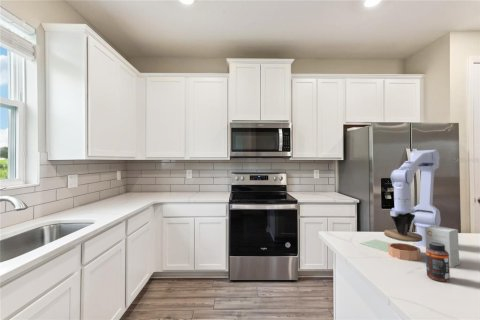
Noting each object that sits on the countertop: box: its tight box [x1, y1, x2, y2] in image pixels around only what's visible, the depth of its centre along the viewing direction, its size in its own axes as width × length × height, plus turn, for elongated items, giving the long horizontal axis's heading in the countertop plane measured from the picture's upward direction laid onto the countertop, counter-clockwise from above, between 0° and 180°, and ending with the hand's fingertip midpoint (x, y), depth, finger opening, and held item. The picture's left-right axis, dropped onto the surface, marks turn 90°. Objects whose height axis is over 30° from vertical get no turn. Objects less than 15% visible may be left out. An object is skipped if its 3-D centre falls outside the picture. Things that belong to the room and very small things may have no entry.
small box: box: [425, 225, 460, 268], centre depth 94 cm, size 8×6×13 cm
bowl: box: [387, 242, 422, 262], centre depth 100 cm, size 11×11×4 cm
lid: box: [383, 224, 422, 243], centre depth 101 cm, size 13×13×6 cm
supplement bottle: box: [425, 242, 451, 282], centre depth 81 cm, size 6×6×11 cm
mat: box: [359, 239, 391, 253], centre depth 114 cm, size 13×13×1 cm
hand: (403, 232), depth 100 cm, fingers closed on lid, 3 cm apart
